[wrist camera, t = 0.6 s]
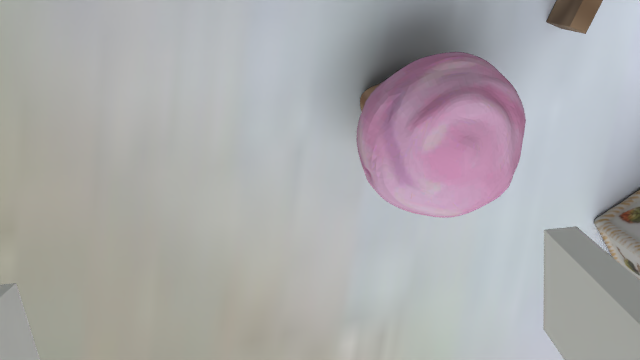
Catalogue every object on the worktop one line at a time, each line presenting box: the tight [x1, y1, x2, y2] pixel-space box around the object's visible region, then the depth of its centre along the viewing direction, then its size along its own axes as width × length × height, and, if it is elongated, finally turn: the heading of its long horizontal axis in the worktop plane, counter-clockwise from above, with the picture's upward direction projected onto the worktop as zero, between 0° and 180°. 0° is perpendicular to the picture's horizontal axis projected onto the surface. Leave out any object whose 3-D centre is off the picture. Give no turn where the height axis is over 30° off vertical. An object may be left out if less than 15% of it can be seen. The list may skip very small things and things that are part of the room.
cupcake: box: [357, 52, 526, 217], centre depth 30 cm, size 9×9×10 cm
